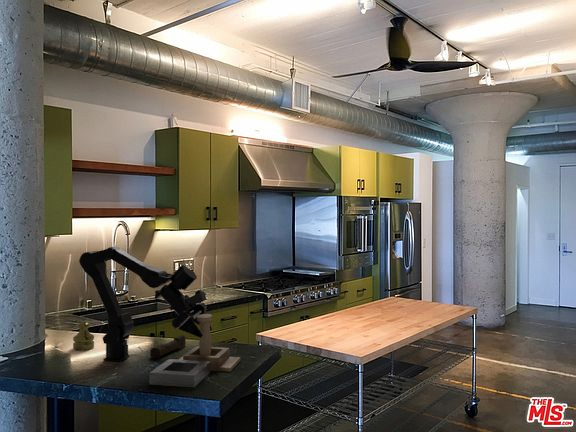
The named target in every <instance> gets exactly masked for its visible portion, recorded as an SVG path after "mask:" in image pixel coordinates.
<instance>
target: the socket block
mask: <svg viewBox="0 0 576 432" xmlns="http://www.w3.org/2000/svg"><path fill="white" fill-rule="evenodd" d="M210 373H211V370H210V361H193V360H178V359H176V358H175V359H173V358H168V359H167V360H165V361H164V362H163V363H161V364H160V365H158V366H157V367H156V368H154V369H153V370H151V371H149V385H153V386H164V387H165V386H167V387H181V388H193V389H194V388H196V387H197V386H198V385H199V384H200V383H201V382H202V381H203V380H204V379H205V378H206V377H207V376H208V375H210Z"/></svg>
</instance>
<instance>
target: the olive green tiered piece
mask: <svg viewBox="0 0 576 432" xmlns="http://www.w3.org/2000/svg"><path fill="white" fill-rule="evenodd" d="M91 325H92V324H91V322H87V321H80V322H78V323H77V324H76V327H77V328H78V329H79V331H78V333H76V334H75V335H74V336H73V337H72V341H73V342H72V345H73V346H72V349H73V350H74V351H82V352H83V351H84V352H85V351H89V350H92V349H94V348H95V341H94V339H95V334H93V333H91V332H90V331H89V330H88V329H89V328H90V327H91Z"/></svg>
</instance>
